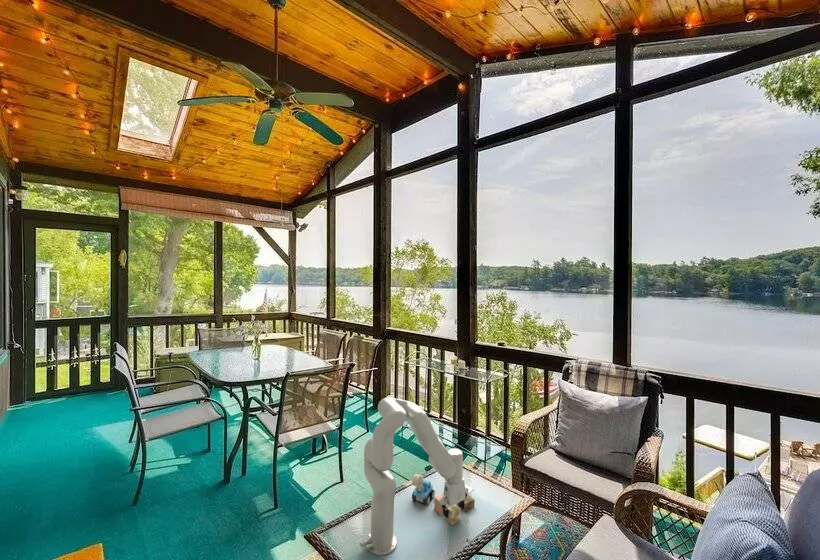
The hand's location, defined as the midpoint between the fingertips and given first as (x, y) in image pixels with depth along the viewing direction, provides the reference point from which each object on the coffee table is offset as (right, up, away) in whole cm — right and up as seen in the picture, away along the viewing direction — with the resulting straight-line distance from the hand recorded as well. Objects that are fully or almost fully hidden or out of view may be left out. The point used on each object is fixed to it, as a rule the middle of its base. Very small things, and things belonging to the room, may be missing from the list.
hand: (453, 512), depth 175 cm
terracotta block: (-5, -3, +7) cm, 9 cm away
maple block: (-1, -4, 0) cm, 4 cm away
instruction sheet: (+6, -2, +23) cm, 23 cm away
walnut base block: (+7, -3, +10) cm, 13 cm away
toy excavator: (-15, -3, +12) cm, 19 cm away
